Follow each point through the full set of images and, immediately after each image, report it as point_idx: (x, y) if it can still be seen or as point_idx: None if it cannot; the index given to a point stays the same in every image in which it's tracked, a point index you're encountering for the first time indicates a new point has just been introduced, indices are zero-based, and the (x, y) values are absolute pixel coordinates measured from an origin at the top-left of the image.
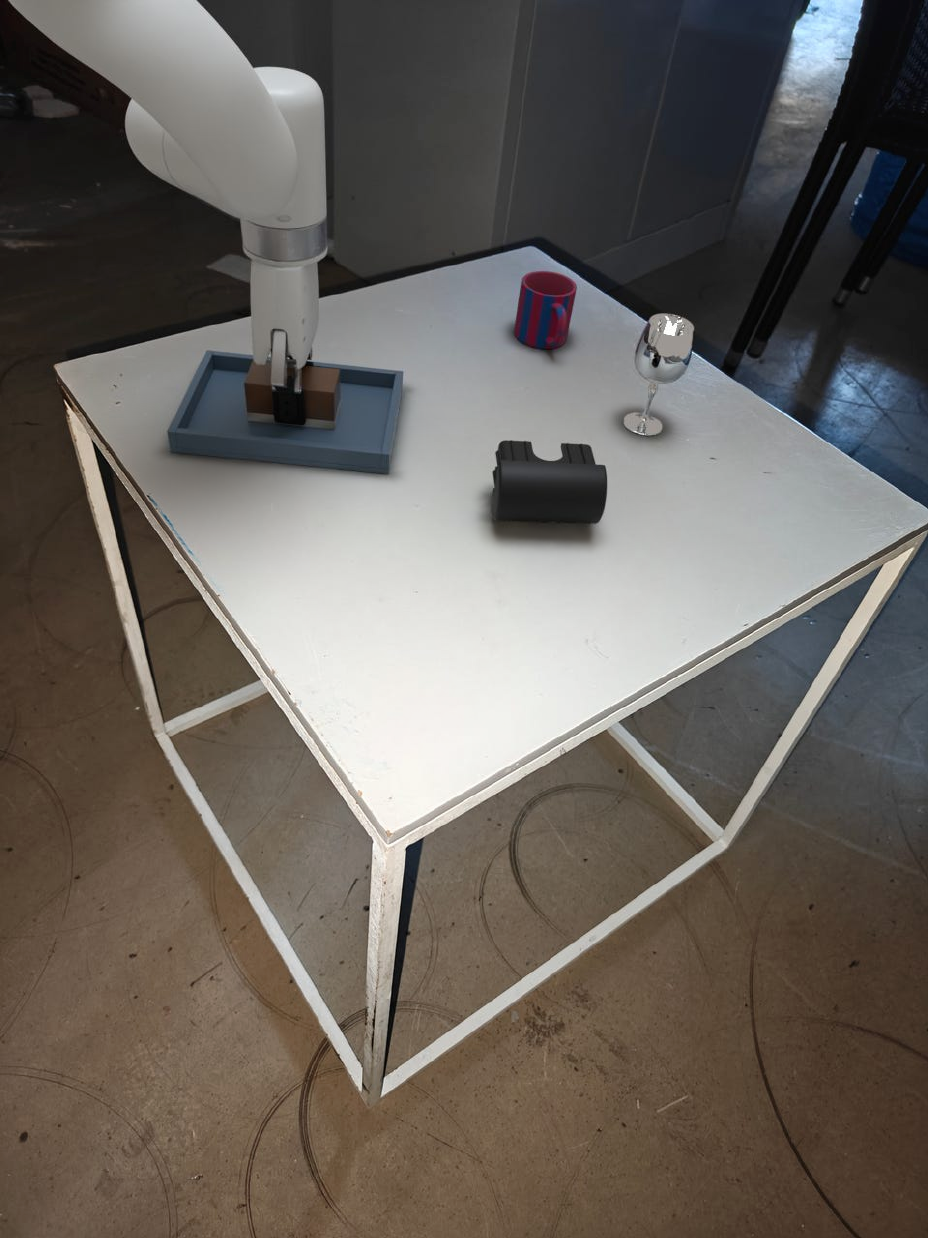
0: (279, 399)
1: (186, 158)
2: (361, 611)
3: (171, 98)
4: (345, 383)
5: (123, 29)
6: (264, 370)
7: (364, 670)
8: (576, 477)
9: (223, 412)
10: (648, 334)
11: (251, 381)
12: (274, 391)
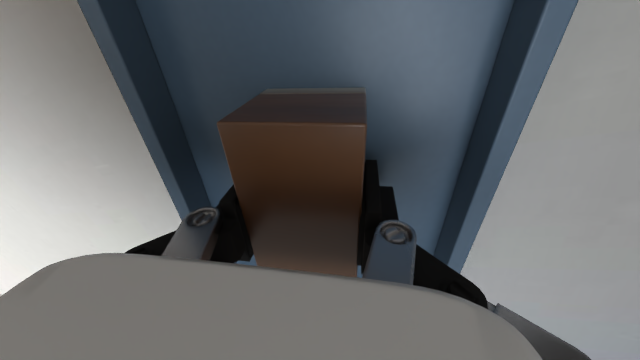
0: (218, 205)
1: None
2: (48, 251)
3: None
4: (435, 243)
5: None
6: (304, 171)
7: (3, 253)
8: None
9: (281, 13)
10: None
11: (229, 145)
12: (196, 214)
